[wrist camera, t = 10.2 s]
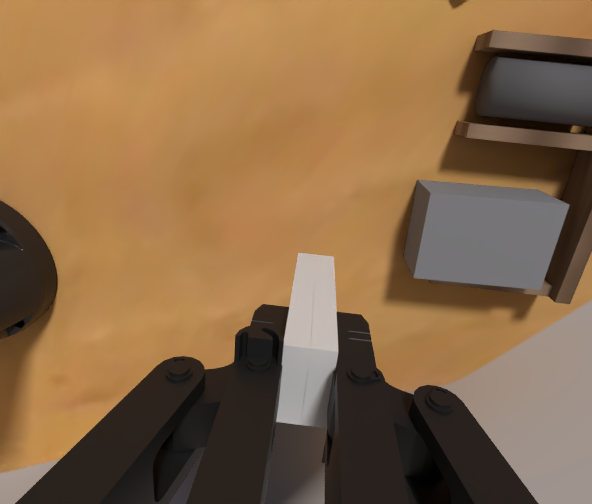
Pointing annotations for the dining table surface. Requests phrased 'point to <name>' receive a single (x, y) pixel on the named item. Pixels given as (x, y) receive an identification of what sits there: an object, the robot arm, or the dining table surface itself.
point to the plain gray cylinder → (536, 91)
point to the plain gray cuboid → (482, 234)
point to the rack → (588, 165)
